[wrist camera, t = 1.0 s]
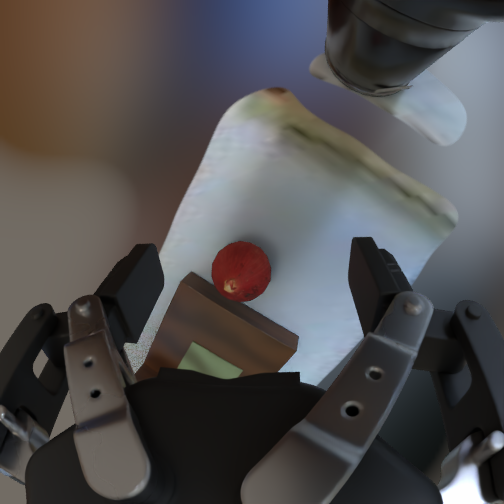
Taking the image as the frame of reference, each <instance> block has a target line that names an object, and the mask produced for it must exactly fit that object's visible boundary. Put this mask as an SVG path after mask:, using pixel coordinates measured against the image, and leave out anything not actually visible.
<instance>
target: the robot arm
mask: <svg viewBox="0 0 504 504" xmlns="http://www.w3.org/2000/svg"><path fill="white" fill-rule="evenodd" d="M486 22H504V0H328V21H327V37H326V41H325V56H326V60H327V63H328V65H329V67H330V69H331V70H332V72H333V73H334V75H335V76H336V77H337V78H338V79H339V80H340V81H341V82H342V83H343V84H345V85H346V86H347V87H349V88H351V89H352V90H354V91H356V92H359V93H361V94H365V95H369V96H376V97H381V96H389V95H392V94H395V93H397V92H399V91H400V90H402V89H409V88H410V87H412V86H413V85H412V86H407V85H408V84H409V82H410V81H411V80H413V79H414V78H415V77H417V76H418V75H419V74H420V73H422V72H423V71H424V70H425V69H427V68H428V67H429V66H430V65H432V64H433V63H434V62H435V61H437V60H438V59H439V58H441V57H442V56H443V55H444V54H446V53H447V52H448V51H450V50H451V49H452V48H453V47H455V46H456V45H457V44H459V43H460V42H461V41H462V40H464V39H465V38H466V37H467V36H468V35H470V34H471V33H472V32H474V31H475V30H477V29H478V28H479V27H481V26H482V25H484V24H485V23H486ZM348 281H349V287H350V290H351V293H352V296H353V300H354V303H355V306H356V310H357V313H358V316H359V320H360V323H361V327H362V330H363V334H364V340H363V341H362V343H361V344H360V346H359V347H358V349H357V350H356V351H355V353H354V354H353V356H352V357H351V359H350V360H349V361H348V363H347V364H346V366H345V367H344V368H343V370H342V371H341V373H340V374H339V375H338V377H337V378H336V379H335V381H334V382H333V383H332V385H331V386H330V387H329V388H328V390H327V391H325V390H324V389H322V388H319V387H317V386H314V385H311V384H307V383H302V382H300V372H274V373H259V374H254V375H249V376H243V377H238V378H232V379H222V378H218V377H214V376H211V375H207V374H204V373H201V372H197V371H194V370H188V369H176V368H166V367H160V369H159V372H158V375H157V377H152V378H148V379H144V380H141V381H138V382H137V380H136V377H135V375H134V372H133V370H132V367H131V365H130V362H129V359H128V356H127V354H126V351H125V349H124V347H123V346H124V344H125V342H126V343H135V344H137V342H138V340H139V338H140V335H141V333H142V331H143V329H144V327H145V325H146V323H147V320H148V318H149V316H150V314H151V312H152V310H153V308H154V306H155V304H156V302H157V300H158V298H159V296H160V294H161V292H162V290H163V287H164V274H163V270H162V267H161V263H160V259H159V256H158V252H157V248H156V246H155V245H154V244H152V243H151V244H137V245H135V247H134V248H133V249H132V250H131V252H130V253H129V255H128V256H126V257H124V258H123V259H121V260H120V261H119V262H117V264H116V265H115V266H114V268H113V269H112V271H111V272H110V273H109V274H108V277H106V278H105V279H104V281H103V282H102V283H101V285H100V286H99V288H98V289H97V291H96V292H95V293H94V294H93V295H86V296H82V297H81V298H78V299H77V300H75V301H74V302H73V303H72V304H71V305H70V307H69V308H68V311H67V312H62V313H56V314H55V312H54V310H53V308H52V306H51V305H50V304H47V303H43V304H39V305H37V306H35V307H33V308H32V309H31V310H30V311H29V312H28V313H27V314H26V316H25V317H24V318H23V320H22V321H21V323H20V324H19V326H18V327H17V328H16V330H15V331H14V333H13V334H12V336H11V337H10V339H9V340H8V342H7V343H6V345H5V346H4V348H3V349H2V351H1V353H0V472H1V473H2V474H4V475H6V476H9V477H10V478H12V479H14V480H15V481H17V482H19V483H20V484H23V485H25V488H26V499H27V504H504V340H503V338H502V336H501V334H500V332H499V330H498V328H497V327H496V325H495V323H494V321H493V320H492V318H491V316H490V314H489V313H488V311H487V310H486V309H485V308H484V307H483V306H482V305H481V304H479V303H477V302H475V301H470V300H463V301H460V302H459V303H458V304H457V305H456V307H455V310H454V312H451V311H445V310H438V309H434V308H433V305H432V303H431V301H430V300H429V299H428V298H427V297H426V296H424V295H422V294H420V293H417V292H414V291H413V289H412V288H411V286H410V284H409V282H408V280H407V279H406V277H405V275H404V273H403V272H401V268H400V267H399V265H398V263H397V262H396V260H395V258H394V257H393V255H392V254H390V253H389V252H388V251H386V250H385V249H378V247H377V245H376V244H375V242H374V240H373V238H372V237H353V239H352V243H351V252H350V261H349V270H348ZM41 349H42V350H43V351H44V353H45V354H46V356H47V357H48V358H49V360H48V362H47V363H46V365H45V367H44V369H43V371H42V373H41V374H40V376H39V378H37V377H36V376H35V374H34V372H33V363H34V361H35V359H36V357H37V356H38V354H39V352H40V350H41ZM467 364H468V367H469V369H470V372H471V374H470V372H469V369H468V367H467ZM411 369H417V370H425V371H430V374H431V377H432V381H433V384H434V388H435V391H436V395H437V399H438V402H439V406H440V410H441V414H442V419H443V423H444V427H445V432H446V437H447V441H448V447H449V452H450V453H448V454H447V456H446V457H445V458H444V460H443V462H442V465H441V476H440V481H439V484H438V486H436V485H435V483H433V481H432V480H431V479H429V478H428V477H427V476H426V475H425V474H423V473H422V472H421V471H419V470H418V469H417V468H416V467H415V466H414V465H412V464H411V463H410V462H409V461H408V460H407V459H405V458H404V457H403V456H402V455H401V454H399V453H398V452H397V451H396V450H395V449H393V448H392V447H391V446H390V445H389V444H388V443H387V442H386V441H384V440H383V439H382V438H381V437H380V436H379V435H378V432H379V430H380V429H381V427H382V425H383V423H384V422H385V420H386V418H387V416H388V415H389V413H390V411H391V409H392V407H393V405H394V403H395V401H396V399H397V398H398V396H399V393H400V392H401V390H402V388H403V386H404V383H405V381H406V379H407V377H408V375H409V373H410V371H411ZM68 390H69V392H70V398H71V404H72V408H73V413H74V418H75V424H74V425H72V426H71V427H69V428H68V429H66V430H65V431H64V432H62V433H60V434H59V435H57V436H56V437H54V438H53V439H52V440H50V441H49V437H50V435H51V432H52V429H53V427H54V424H55V421H56V419H57V417H58V414H59V411H60V409H61V407H62V404H63V402H64V400H65V397H66V395H67V393H68Z"/></svg>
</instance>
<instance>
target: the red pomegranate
mask: <svg viewBox="0 0 504 504" xmlns="http://www.w3.org/2000/svg"><path fill="white" fill-rule="evenodd" d="M211 277H212V280H213V283H214V286H215V288H216V289H217V290H218V291H219V293H220V294H221V295H222V296H224V297H225V298H227V299H228V300H232V301H236V302H245V301H251V300H253V299H255V298H256V297H258V296H259V295H261V294H263V292H264V291H265V289H266V287H267V286H268V284H269V282H270V281H271V266H270V263H269V260H268V257H267V255H266V254H265V253H264V252H263V250H262V249H261V248H260V247H258V246H256V245H254V244H252V243H250V242H244V241H238V242H234V243H230V244H228V245H227V246H225V247H224V248H223V249H222V250H220V251H219V252H218V254H217V256H216V258H215V260H214V261H213V263H212V274H211Z"/></svg>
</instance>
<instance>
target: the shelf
mask: <svg viewBox="0 0 504 504" xmlns="http://www.w3.org/2000/svg"><path fill="white" fill-rule="evenodd" d="M298 338H299V336H297V335H295V334H294V333H292V332H290V331H288V330H287V329H285V328H283V327H281V326H280V325H278V324H276V323H275V322H273V321H271V320H270V319H268V318H266V317H264V316H263V315H261V314H259V313H258V312H256V311H254V310H253V309H251V308H249V307H248V306H246V305H244V304H243V303H241V302H236V301H232V300H228V299H227V298H225V297H224V296H222V295H221V294H220V293H219V291H218V290H217V289H216V288H215V286H214V285H212V284H210V283H209V282H207V281H206V280H204V279H202V278H201V277H199V276H198V275H196V274H195V273H193V272H190V273H189V274H188V275H187V276H186V277H185V278H184V279H183V280H182V281H181V282H180V284H179V286H178V288H177V290H176V292H175V294H174V297H173V299H172V301H171V303H170V305H169V307H168V310H167V312H166V314H165V316H164V318H163V320H162V323H161V325H160V327H159V329H158V332H157V334H156V336H155V338H154V341H153V343H152V345H151V348H150V350H149V352H148V354H147V357H146V359H145V361H144V364H143V365H142V366H141V367H140V368H139V370H138V371H137V372H136V373H135V374H134V375H135V377H136V380H137V382H138V381H141V380H144V379H148V378H152V377H157V375H158V372H159V369H160V367H166V368H176V369H188V370H194V371H197V372H201V373H204V374H207V375H211V376H214V377H218V378H222V379H232V378H238V377H243V376H249V375H254V374H259V373H274V372H278V371H279V370H280V369H281V368H282V367H283V366H284V364H285V363H286V362H287V361H288V360H289V359H290V358H291V357H292V356H293V354H294V353H295V352H296V351H297V345H298Z"/></svg>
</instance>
